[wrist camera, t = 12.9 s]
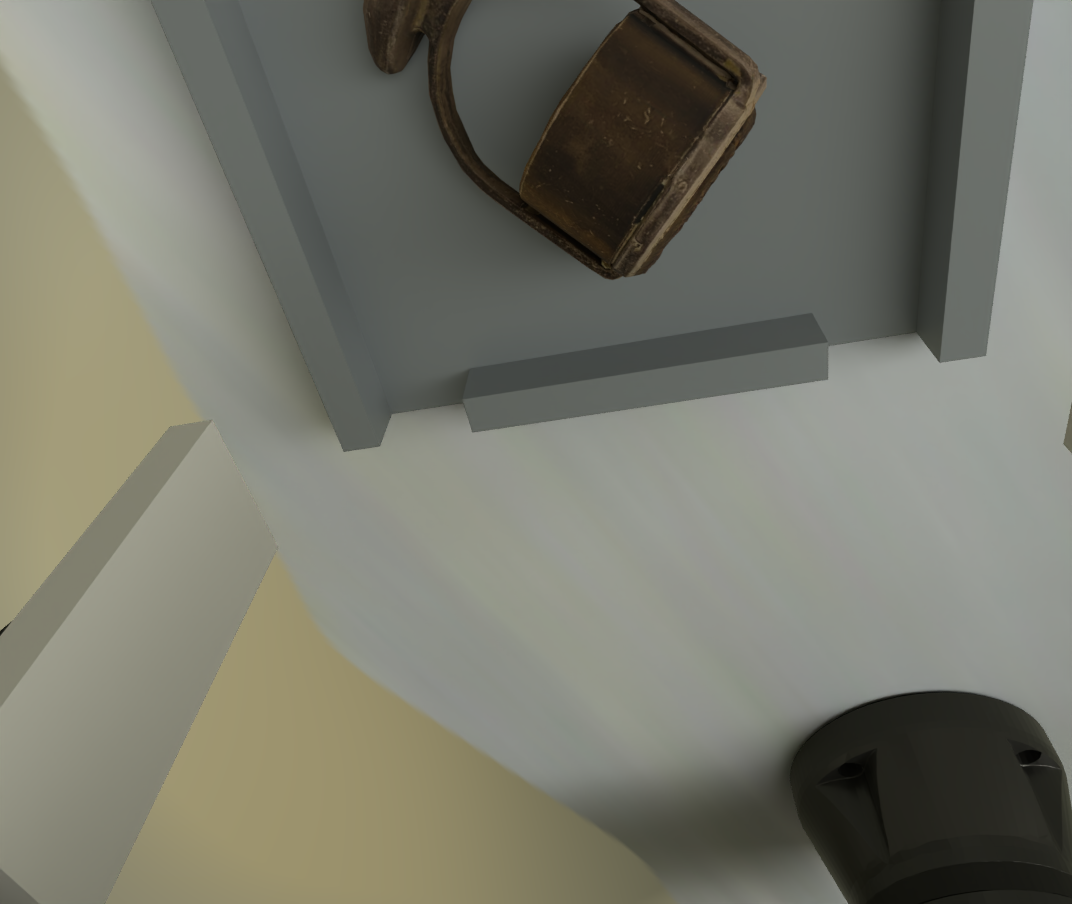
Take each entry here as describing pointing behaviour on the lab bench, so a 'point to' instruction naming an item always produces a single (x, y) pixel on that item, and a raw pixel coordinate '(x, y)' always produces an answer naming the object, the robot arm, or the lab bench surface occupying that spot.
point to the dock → (558, 278)
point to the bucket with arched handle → (602, 127)
